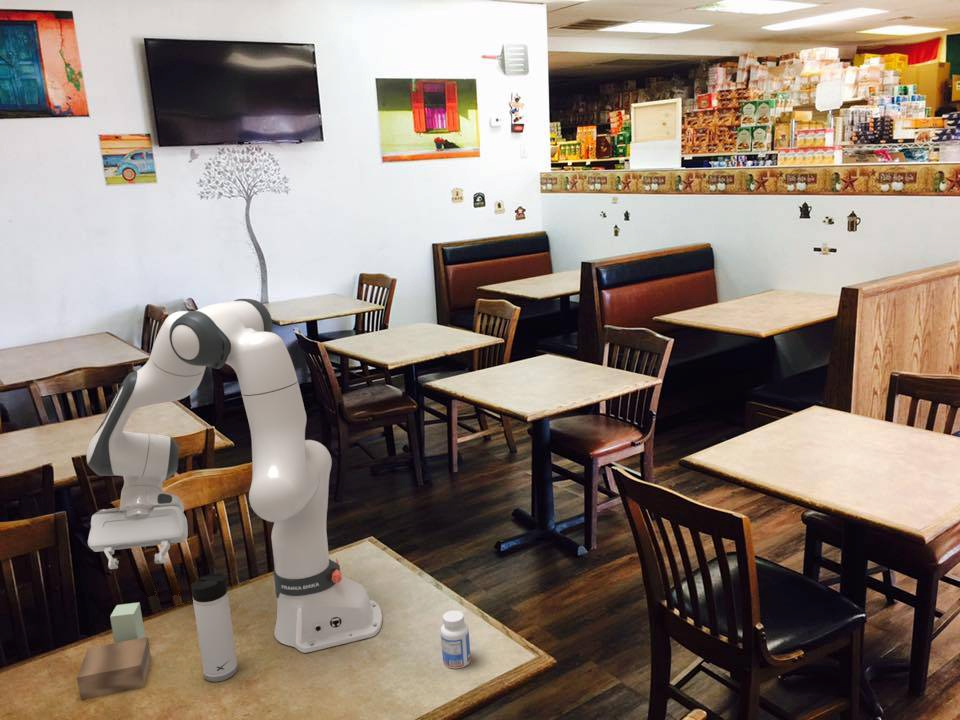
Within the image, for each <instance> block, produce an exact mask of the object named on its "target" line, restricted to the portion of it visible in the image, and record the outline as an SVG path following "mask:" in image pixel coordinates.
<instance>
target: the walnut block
mask: <svg viewBox="0 0 960 720" xmlns="http://www.w3.org/2000/svg"><path fill="white" fill-rule="evenodd" d="M149 643H150V642H149V637H148V636H145V638H139V639H134V640H129V641H123V642H118V643H115V642H113V643H109V644H103V645H98V646H93V647H87V649H86V652H85V655H84V657H83V660H82V663H81V665H80V668H79V671H78V673H77V676H76V681H77V685H78V686H77V687H78V692H79V696H80V697H79V698H80V700H81V701H83V700H82V699H84V700H88V698H89V699H93V697H94V698H97V697H98V696H99V697H103V696H107V695H108V694H109V695H113V694H118V693H123V692H124V693H125V692H127V691H133V690H138V689H143V688H145V686H146V682H147V677H148V673H149V669H150V665H151V664H150V663H151V660H152V656H151V651H150V650H151V649H150V645H149ZM109 695H108V696H109Z"/></svg>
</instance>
